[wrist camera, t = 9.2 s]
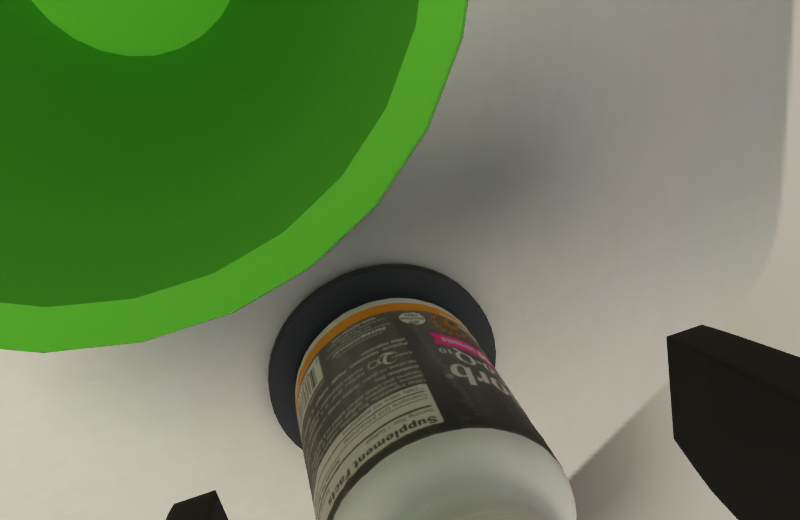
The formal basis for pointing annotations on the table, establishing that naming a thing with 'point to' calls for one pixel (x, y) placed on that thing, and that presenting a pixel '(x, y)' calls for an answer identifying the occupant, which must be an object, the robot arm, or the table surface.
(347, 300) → the coaster
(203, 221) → the cup
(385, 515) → the pill bottle
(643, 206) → the table surface
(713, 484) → the robot arm
